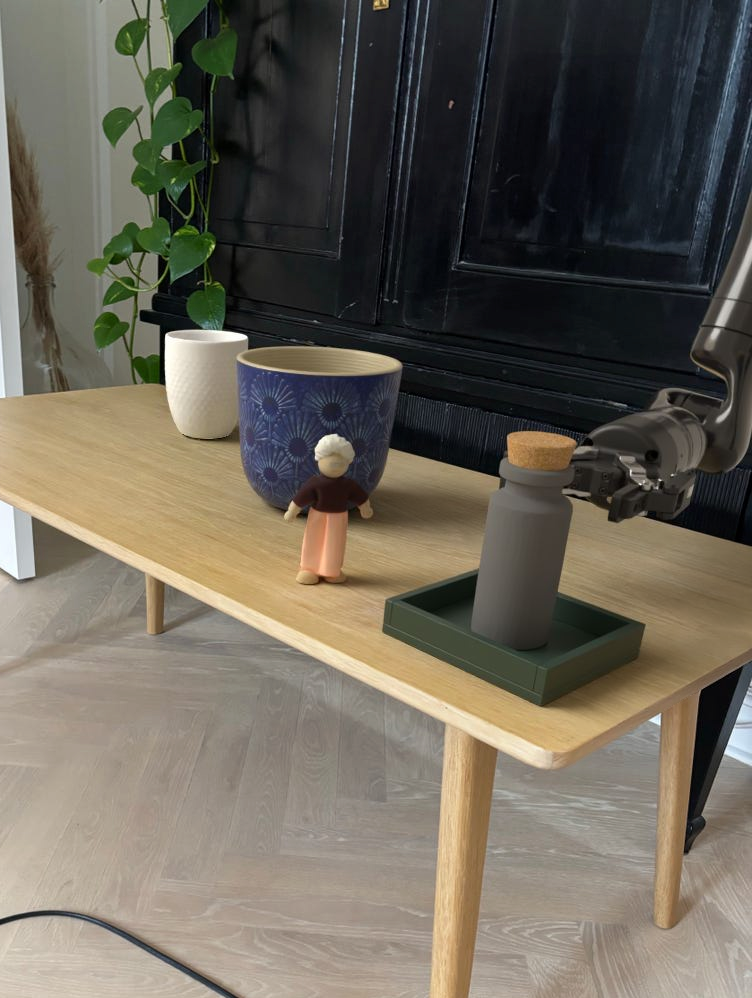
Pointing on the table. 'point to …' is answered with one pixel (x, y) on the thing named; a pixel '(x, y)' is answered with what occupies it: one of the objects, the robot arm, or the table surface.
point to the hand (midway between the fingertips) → (558, 496)
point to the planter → (313, 415)
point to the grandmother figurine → (327, 511)
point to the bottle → (525, 541)
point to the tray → (526, 673)
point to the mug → (203, 380)
